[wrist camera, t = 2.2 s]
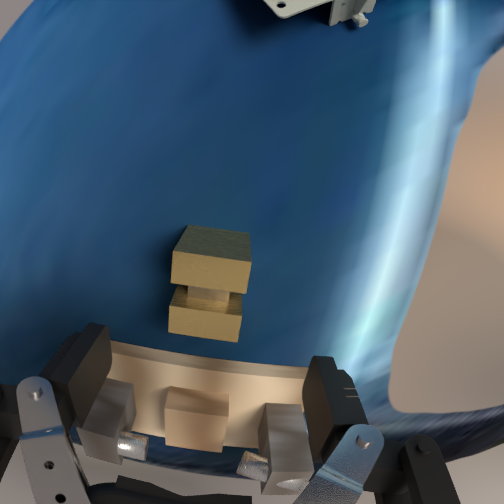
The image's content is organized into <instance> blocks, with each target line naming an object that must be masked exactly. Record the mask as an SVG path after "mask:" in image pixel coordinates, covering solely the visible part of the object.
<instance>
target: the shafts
mask: <svg viewBox="0 0 504 504" xmlns="http://www.w3.org/2000/svg"><path fill="white" fill-rule="evenodd" d="M117 452H118V454H119V455H122V456H126V457H131V458H135V459H139V460H144V461H145V459H146V456H147V452H148V437H146V436H141V435H137V434H132V433H128V432H124V431H121V433H120V435H119V438H118V443H117ZM236 473H238V474H240V475H243V476H246V477H249V478H252V479H255V480H259V481H262V482H266V480H267V476H268V460H267V458H266V457H263V456H260V455H257V454H254V453H251V452H248V451H245V453H244V455H243V457H242V459H241V461H240V464H239V466H238V469H237V472H236ZM306 480H307V478H303V479H294V480H288V481H283V482H279V483H277V486H279V487H282V488H286V489H290V490H294V491H298V492H301V491H302V489H303V487H304V485H305V483H306Z"/></svg>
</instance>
